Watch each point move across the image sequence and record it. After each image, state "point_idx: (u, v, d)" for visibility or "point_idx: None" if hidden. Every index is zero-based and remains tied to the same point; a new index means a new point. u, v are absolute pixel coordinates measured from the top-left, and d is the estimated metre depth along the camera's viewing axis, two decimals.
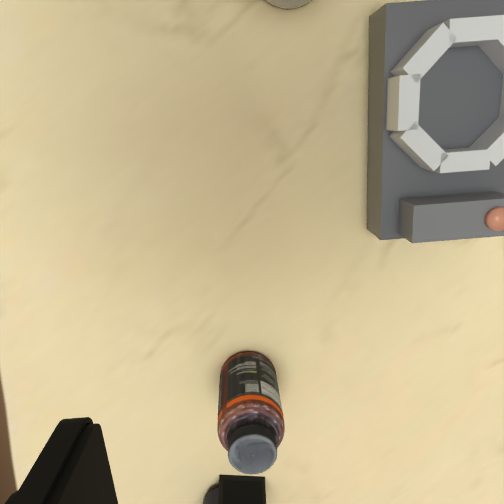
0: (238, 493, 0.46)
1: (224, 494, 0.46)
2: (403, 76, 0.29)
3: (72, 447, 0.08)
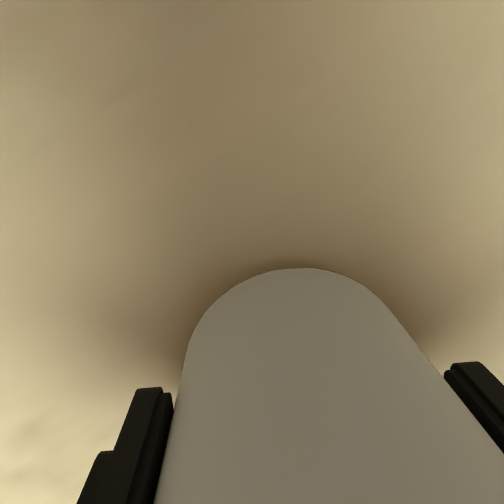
0: None
1: None
2: None
3: (153, 411, 0.08)
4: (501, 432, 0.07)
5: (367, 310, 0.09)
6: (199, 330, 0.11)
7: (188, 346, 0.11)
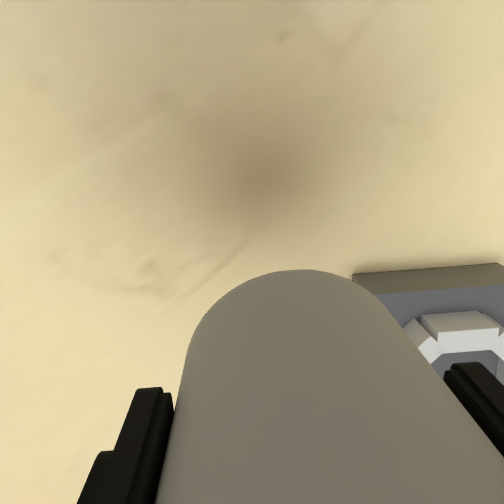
0: None
1: None
2: None
3: (153, 411, 0.08)
4: (501, 432, 0.07)
5: (366, 312, 0.09)
6: (199, 332, 0.11)
7: (188, 347, 0.11)
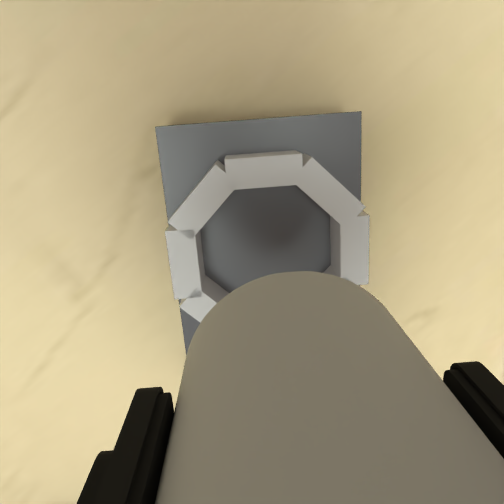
0: None
1: None
2: (170, 232, 0.21)
3: (153, 411, 0.08)
4: (501, 432, 0.07)
5: (367, 315, 0.09)
6: (199, 333, 0.11)
7: (188, 349, 0.11)
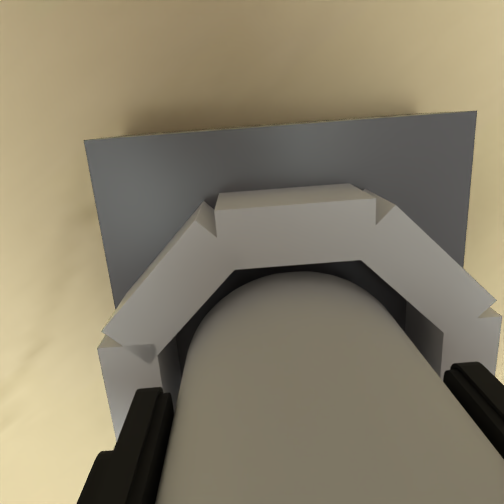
0: None
1: None
2: (107, 351, 0.11)
3: (153, 411, 0.08)
4: (501, 432, 0.07)
5: (367, 315, 0.09)
6: (199, 334, 0.11)
7: (188, 349, 0.11)
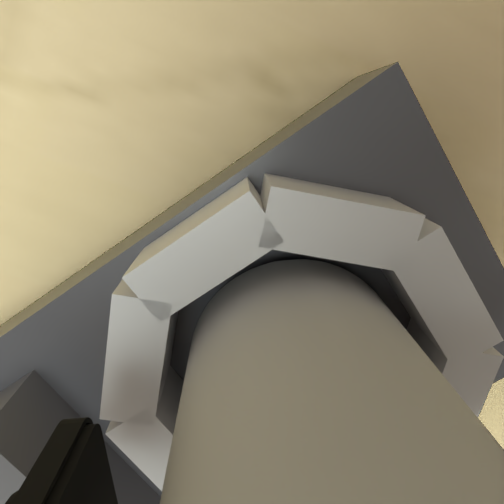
0: None
1: None
2: (252, 202, 0.10)
3: (72, 447, 0.08)
4: None
5: (357, 295, 0.10)
6: (204, 317, 0.12)
7: (194, 333, 0.12)
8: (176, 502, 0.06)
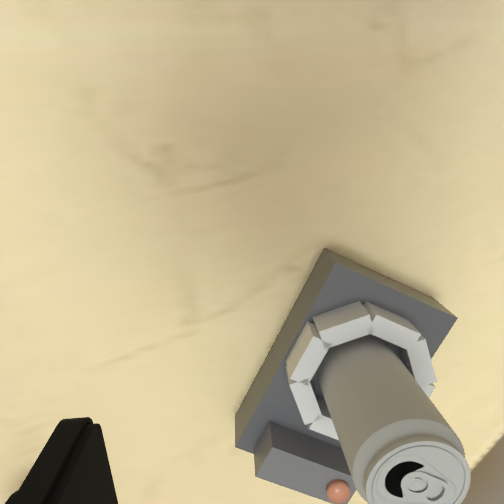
0: None
1: None
2: (316, 338, 0.30)
3: (72, 447, 0.08)
4: None
5: (362, 348, 0.30)
6: (319, 375, 0.32)
7: None
8: (338, 427, 0.26)
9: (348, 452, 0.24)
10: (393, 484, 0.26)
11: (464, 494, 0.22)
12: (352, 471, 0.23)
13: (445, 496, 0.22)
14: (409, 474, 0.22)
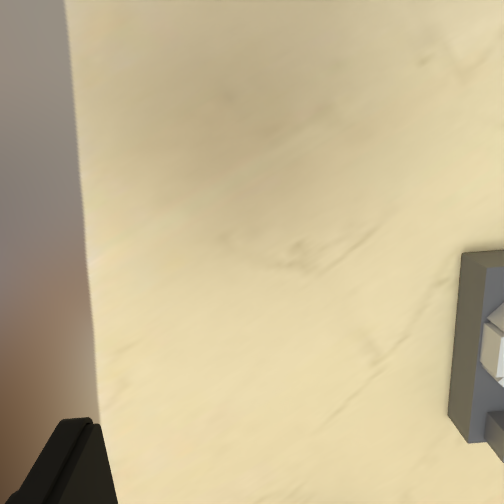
0: None
1: None
2: None
3: (72, 447, 0.08)
4: None
5: None
6: None
7: None
8: None
9: None
10: None
11: None
12: None
13: None
14: None
